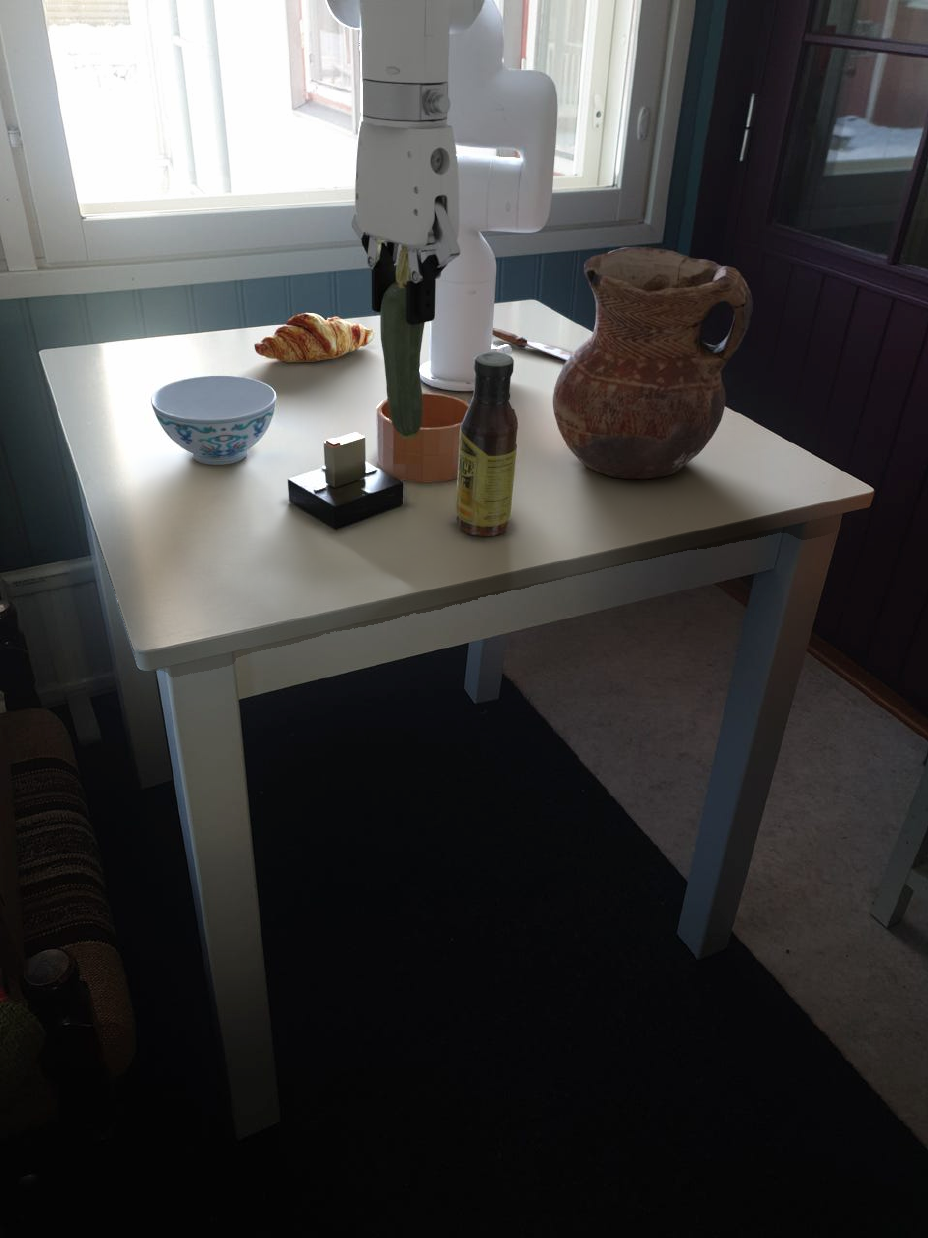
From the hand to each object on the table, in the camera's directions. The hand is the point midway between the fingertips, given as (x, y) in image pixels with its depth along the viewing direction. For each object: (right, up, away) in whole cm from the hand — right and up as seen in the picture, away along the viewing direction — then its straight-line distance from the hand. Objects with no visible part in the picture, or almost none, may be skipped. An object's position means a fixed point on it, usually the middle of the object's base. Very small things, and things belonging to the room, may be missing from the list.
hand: (403, 313), depth 94 cm
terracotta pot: (+1, -9, +30) cm, 32 cm away
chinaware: (-25, -9, +30) cm, 40 cm away
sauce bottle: (+8, -19, +16) cm, 26 cm away
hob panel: (-8, -16, +20) cm, 26 cm away
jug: (+28, -9, +34) cm, 45 cm away
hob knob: (-8, -14, +18) cm, 24 cm away
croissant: (-18, +13, +63) cm, 67 cm away
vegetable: (-1, -11, +8) cm, 14 cm away
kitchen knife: (+19, +16, +70) cm, 74 cm away
